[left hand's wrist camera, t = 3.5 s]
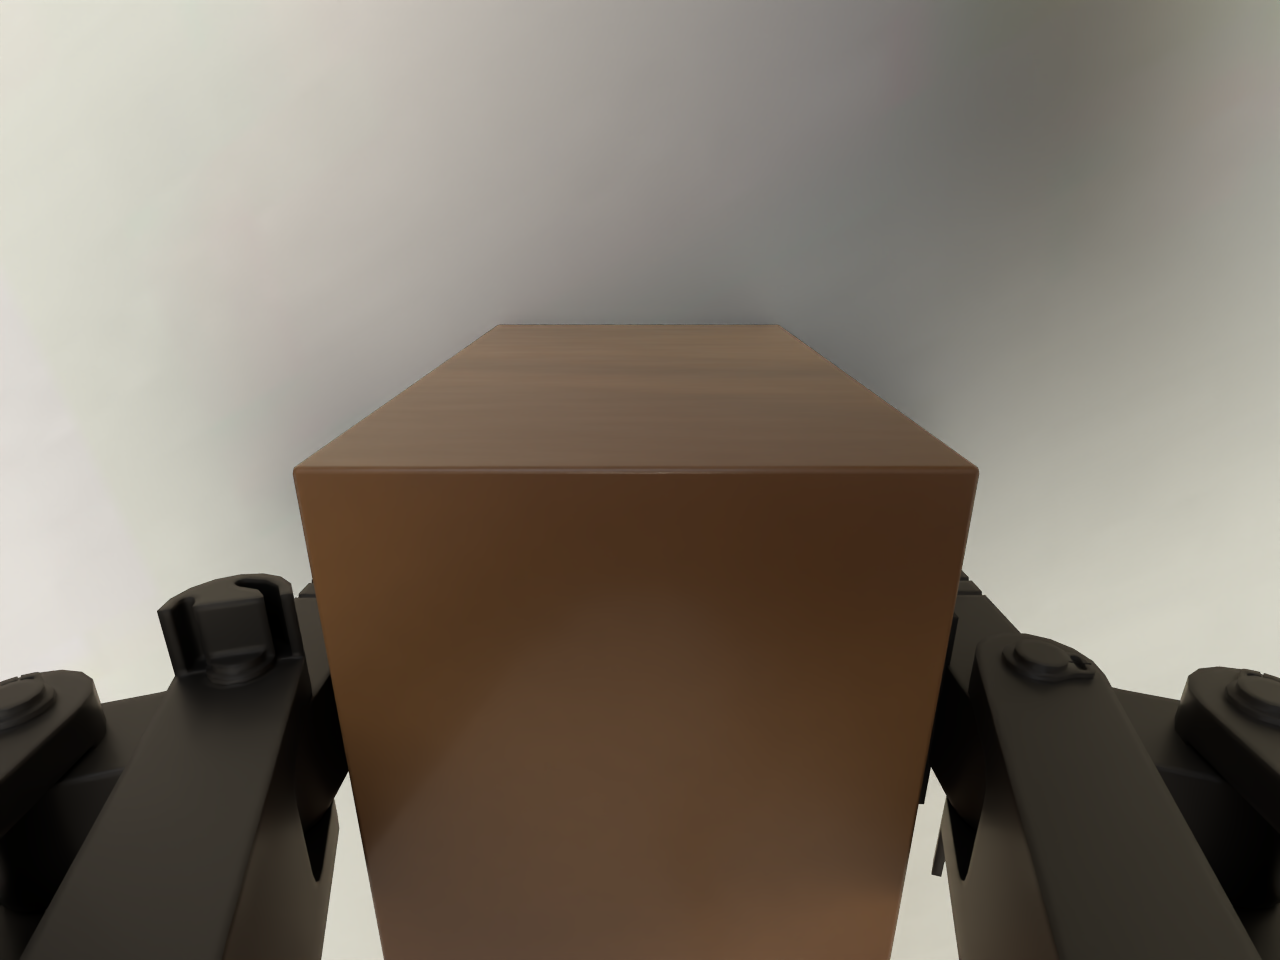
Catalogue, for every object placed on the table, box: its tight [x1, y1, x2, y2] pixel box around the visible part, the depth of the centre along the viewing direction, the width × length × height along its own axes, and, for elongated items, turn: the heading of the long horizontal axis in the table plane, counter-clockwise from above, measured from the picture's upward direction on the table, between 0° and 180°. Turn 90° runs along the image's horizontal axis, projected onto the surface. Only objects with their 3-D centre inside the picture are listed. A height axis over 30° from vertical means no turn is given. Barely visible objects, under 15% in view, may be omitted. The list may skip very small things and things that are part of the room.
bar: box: [293, 325, 979, 960], centre depth 13 cm, size 22×6×8 cm, turn 0°
